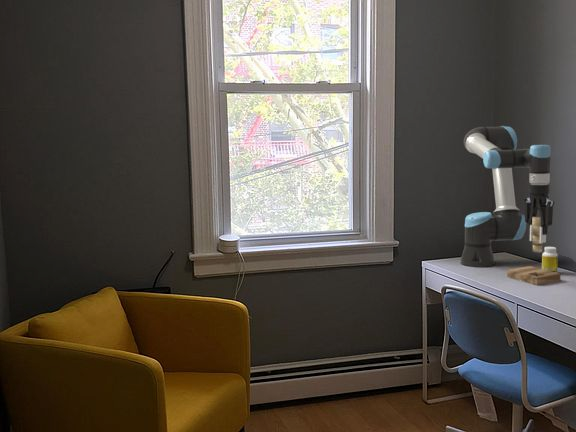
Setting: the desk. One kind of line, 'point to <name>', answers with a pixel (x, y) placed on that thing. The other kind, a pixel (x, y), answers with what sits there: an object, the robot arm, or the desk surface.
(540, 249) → the leg peg
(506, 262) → the desk surface
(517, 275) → the board
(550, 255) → the pill bottle
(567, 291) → the desk surface
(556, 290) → the desk surface
